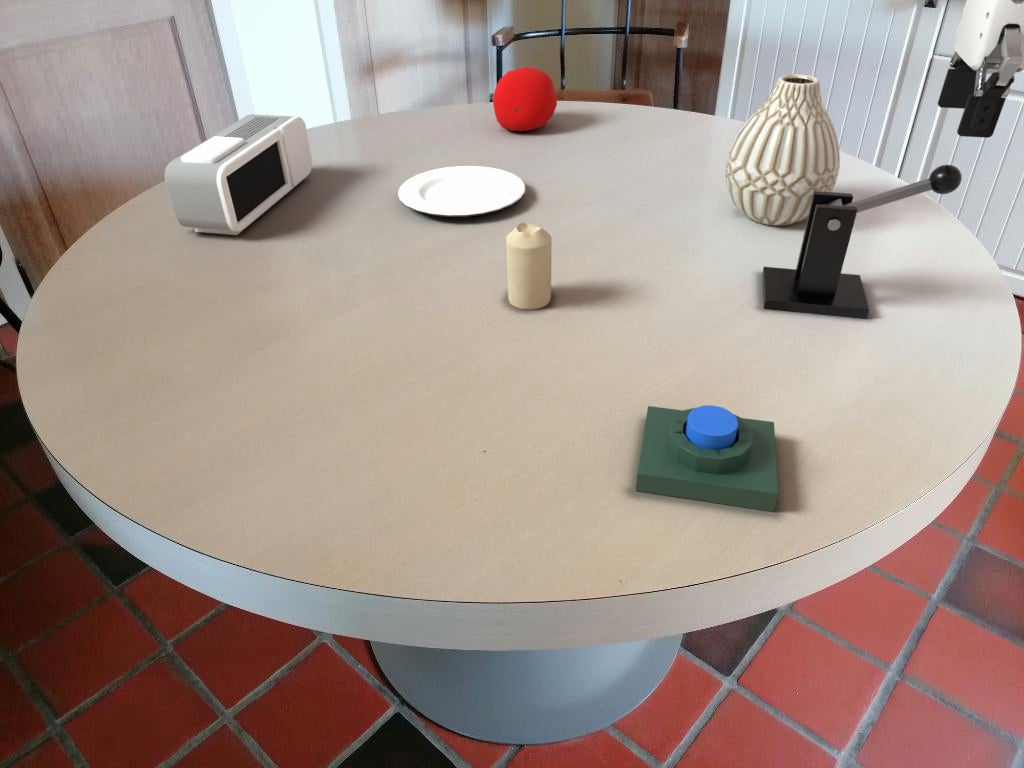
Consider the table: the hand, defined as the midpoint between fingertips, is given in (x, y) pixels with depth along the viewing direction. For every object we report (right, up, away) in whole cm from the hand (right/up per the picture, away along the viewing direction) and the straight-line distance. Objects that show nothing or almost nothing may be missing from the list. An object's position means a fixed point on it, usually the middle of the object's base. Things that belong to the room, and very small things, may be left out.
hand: (962, 120), depth 80 cm
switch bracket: (-10, -17, +15) cm, 25 cm away
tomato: (-45, +24, +73) cm, 89 cm away
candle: (-46, -17, +16) cm, 52 cm away
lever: (-4, -8, +7) cm, 11 cm away
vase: (-8, -2, +36) cm, 37 cm away
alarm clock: (-90, +1, +43) cm, 100 cm away
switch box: (-30, -36, -10) cm, 48 cm away
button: (-30, -33, -12) cm, 46 cm away
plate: (-56, +2, +43) cm, 71 cm away
